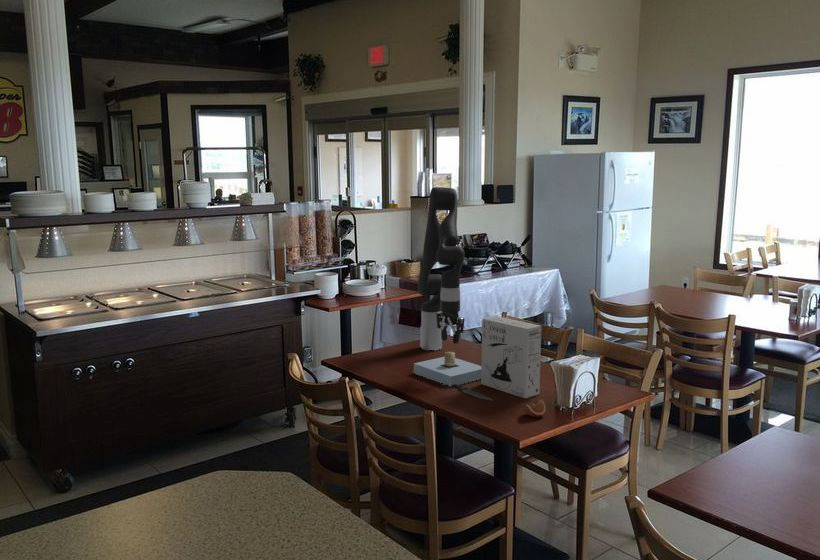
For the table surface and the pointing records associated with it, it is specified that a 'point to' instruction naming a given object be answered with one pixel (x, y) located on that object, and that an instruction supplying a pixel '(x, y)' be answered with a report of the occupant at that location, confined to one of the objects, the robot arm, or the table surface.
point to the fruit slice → (535, 408)
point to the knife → (470, 392)
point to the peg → (449, 360)
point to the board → (448, 371)
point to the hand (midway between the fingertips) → (449, 341)
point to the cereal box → (511, 356)
